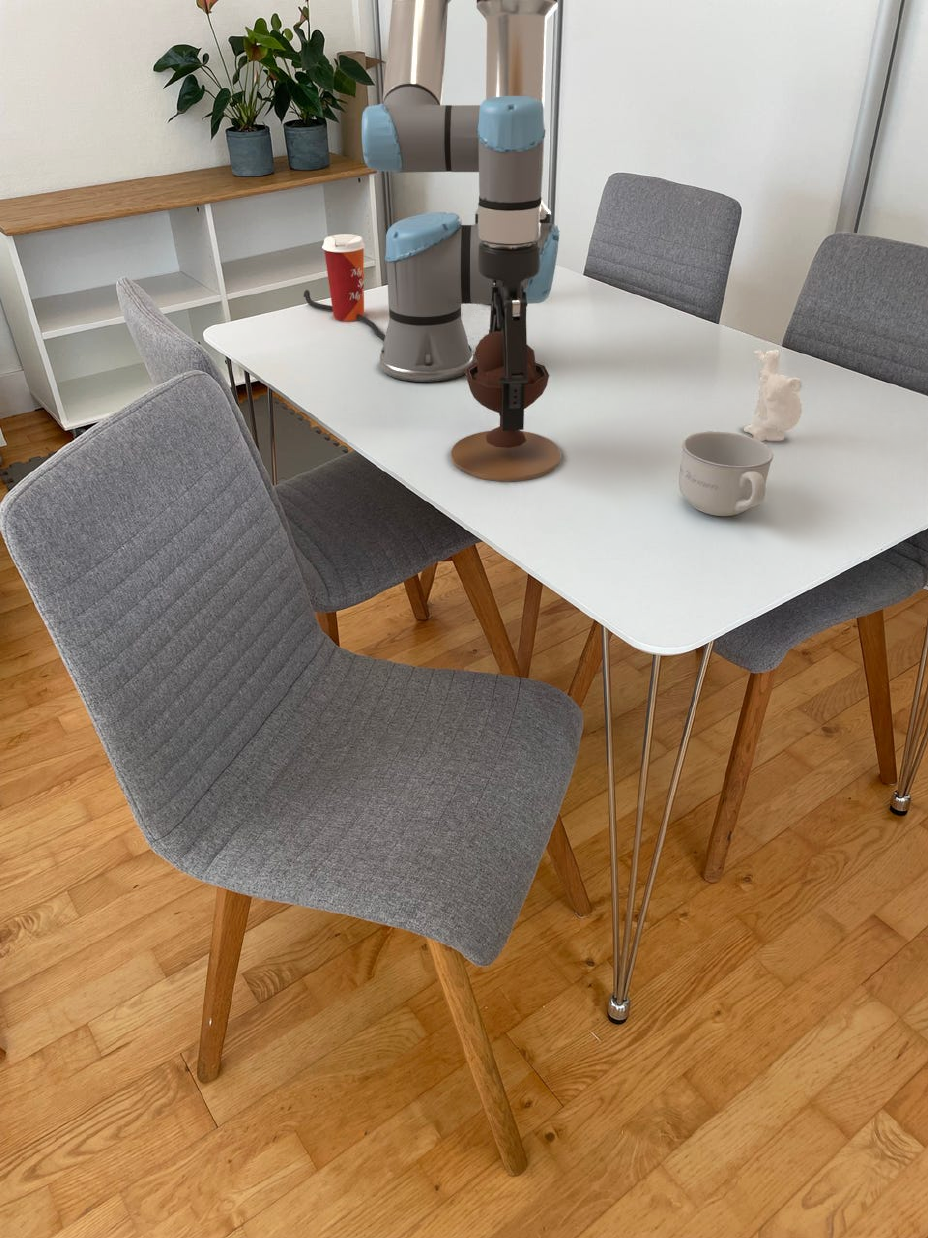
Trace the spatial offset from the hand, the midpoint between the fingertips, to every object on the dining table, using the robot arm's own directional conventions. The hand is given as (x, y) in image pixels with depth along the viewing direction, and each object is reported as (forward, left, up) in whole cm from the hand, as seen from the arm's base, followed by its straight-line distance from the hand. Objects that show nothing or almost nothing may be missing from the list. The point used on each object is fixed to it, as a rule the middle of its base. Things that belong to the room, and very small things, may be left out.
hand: (506, 410), depth 134 cm
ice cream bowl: (0, 0, -4) cm, 4 cm away
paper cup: (-59, +29, -7) cm, 66 cm away
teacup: (+30, +5, -7) cm, 32 cm away
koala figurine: (+25, +28, -7) cm, 38 cm away
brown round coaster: (0, 0, -7) cm, 7 cm away
